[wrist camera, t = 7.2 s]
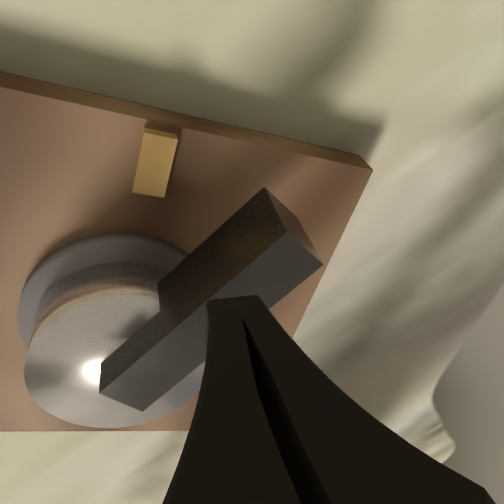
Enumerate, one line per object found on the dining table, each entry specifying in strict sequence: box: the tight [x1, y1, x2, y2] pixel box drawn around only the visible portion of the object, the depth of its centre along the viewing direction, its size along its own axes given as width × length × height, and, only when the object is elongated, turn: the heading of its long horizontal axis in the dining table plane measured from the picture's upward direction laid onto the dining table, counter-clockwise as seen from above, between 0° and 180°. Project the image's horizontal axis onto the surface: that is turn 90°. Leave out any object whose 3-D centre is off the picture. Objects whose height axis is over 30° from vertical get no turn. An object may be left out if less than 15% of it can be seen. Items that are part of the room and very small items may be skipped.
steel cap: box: [24, 187, 324, 428], centre depth 18 cm, size 12×7×4 cm, turn 132°
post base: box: [0, 72, 373, 432], centre depth 22 cm, size 18×18×2 cm
